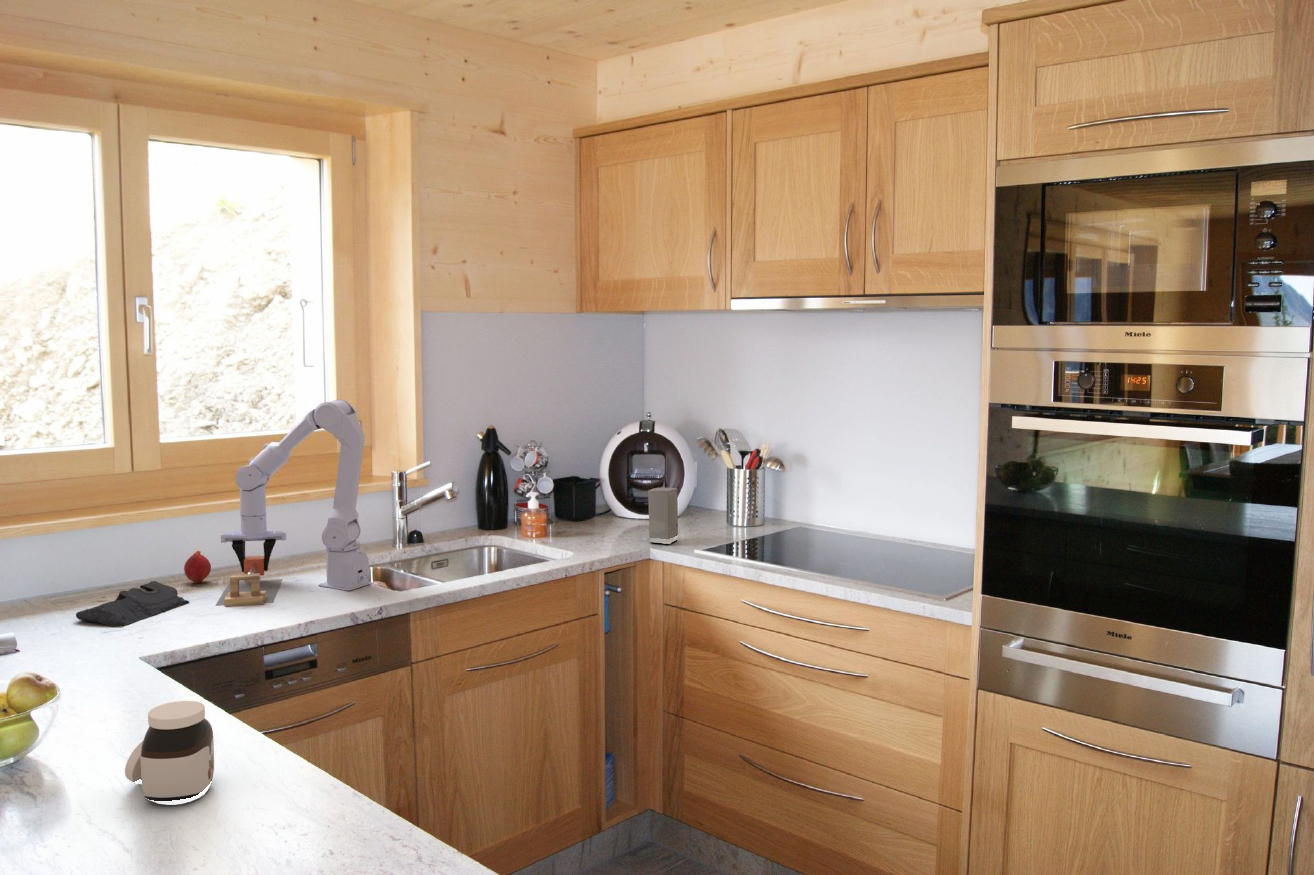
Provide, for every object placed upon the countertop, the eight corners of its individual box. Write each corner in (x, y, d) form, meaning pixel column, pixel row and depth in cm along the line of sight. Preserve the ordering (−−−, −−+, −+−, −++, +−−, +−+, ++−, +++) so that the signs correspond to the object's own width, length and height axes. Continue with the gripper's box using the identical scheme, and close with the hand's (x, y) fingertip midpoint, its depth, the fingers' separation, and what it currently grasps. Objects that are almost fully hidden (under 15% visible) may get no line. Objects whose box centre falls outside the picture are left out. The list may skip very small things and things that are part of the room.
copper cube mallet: (257, 588, 236) (257, 571, 235) (236, 589, 235) (236, 572, 234) (265, 571, 251) (265, 555, 251) (246, 572, 250) (245, 556, 250)
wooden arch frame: (263, 604, 230) (262, 577, 230) (224, 606, 228) (223, 579, 228) (266, 597, 236) (265, 571, 235) (228, 599, 234) (227, 573, 233)
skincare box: (669, 546, 297) (670, 491, 296) (646, 543, 300) (646, 489, 298) (679, 540, 305) (680, 487, 304) (656, 538, 308) (657, 485, 306)
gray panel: (273, 603, 232) (273, 602, 232) (215, 606, 229) (215, 605, 229) (282, 579, 253) (282, 578, 253) (229, 582, 250) (229, 581, 250)
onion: (201, 587, 245) (199, 553, 244) (179, 585, 246) (178, 552, 245) (216, 581, 251) (215, 548, 250) (194, 579, 252) (193, 547, 251)
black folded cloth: (62, 625, 215) (61, 602, 215) (139, 598, 237) (138, 577, 236) (125, 631, 212) (124, 608, 211) (197, 603, 233) (196, 582, 232)
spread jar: (195, 811, 134) (192, 723, 133) (104, 813, 133) (100, 725, 132) (226, 771, 146) (224, 690, 145) (143, 773, 145) (139, 692, 144)
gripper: (218, 518, 242) (219, 576, 244) (284, 516, 246) (285, 573, 247) (222, 513, 249) (224, 569, 250) (286, 511, 253) (288, 566, 254)
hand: (254, 570), depth 249 cm, fingers closed on copper cube mallet, 4 cm apart
